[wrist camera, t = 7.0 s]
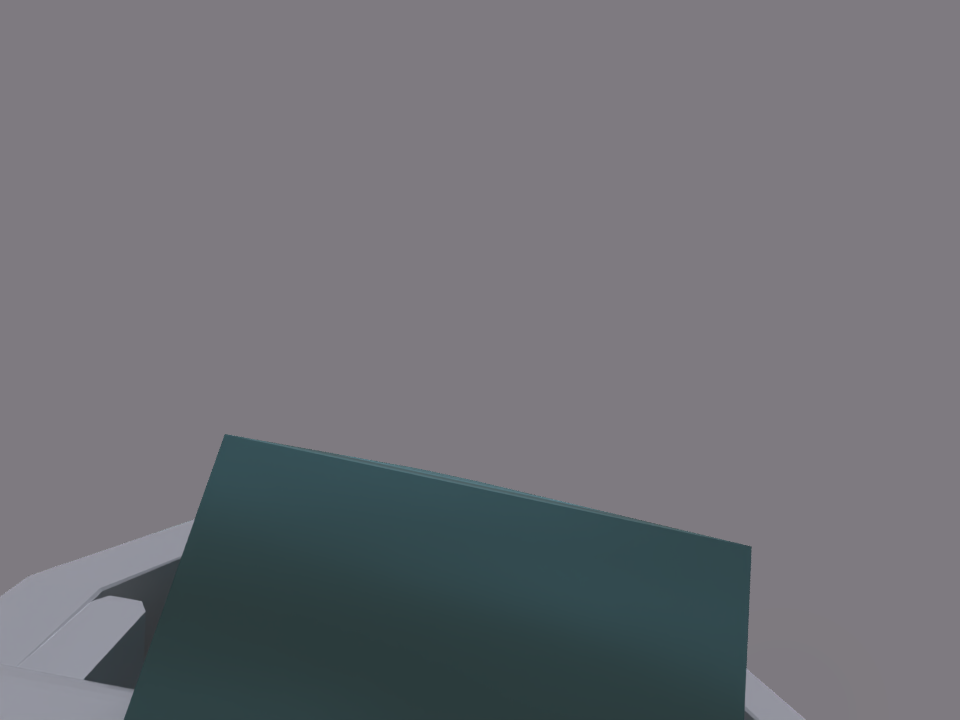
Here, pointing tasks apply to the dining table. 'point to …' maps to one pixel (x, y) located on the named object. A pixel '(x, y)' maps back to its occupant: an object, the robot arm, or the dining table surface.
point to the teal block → (436, 603)
